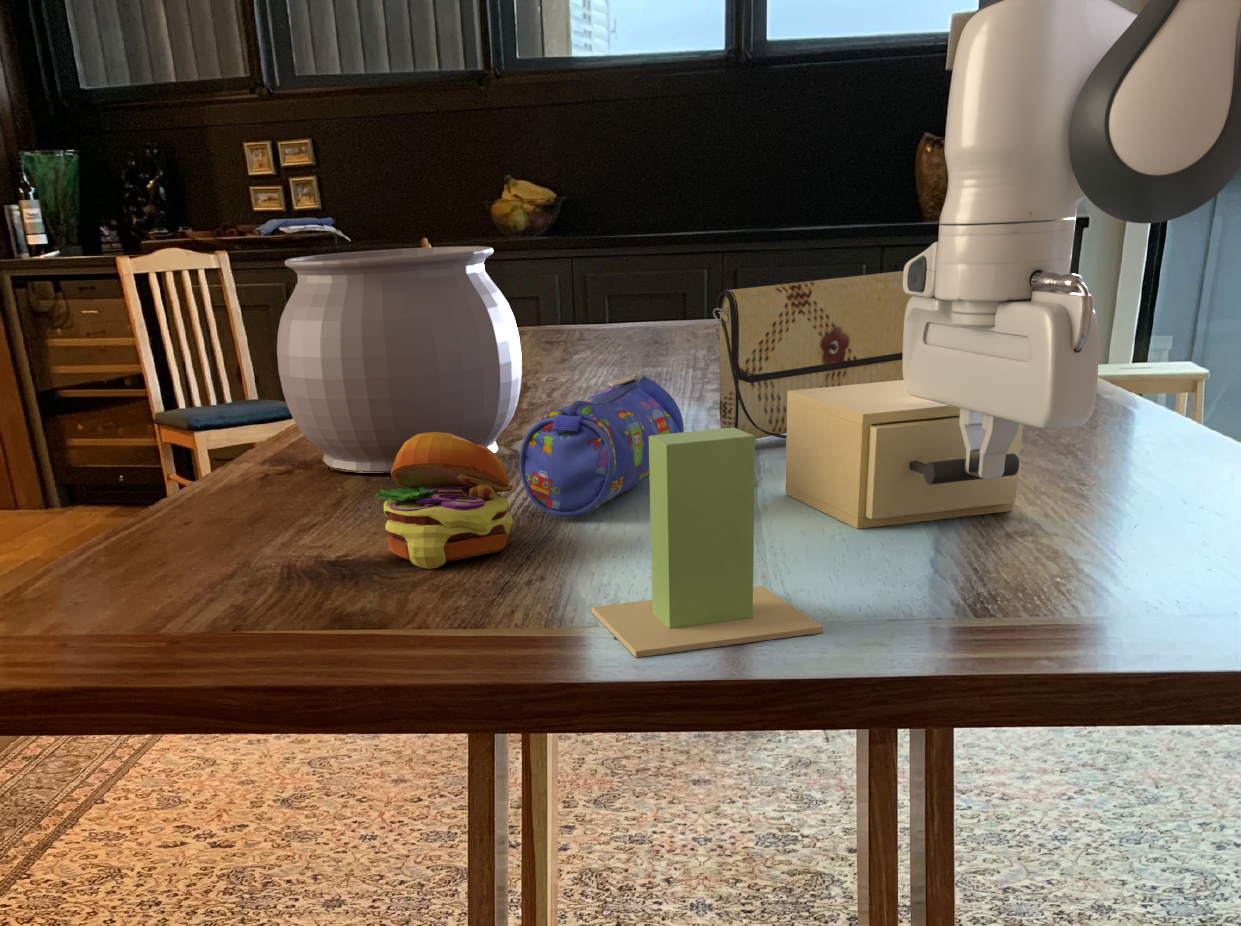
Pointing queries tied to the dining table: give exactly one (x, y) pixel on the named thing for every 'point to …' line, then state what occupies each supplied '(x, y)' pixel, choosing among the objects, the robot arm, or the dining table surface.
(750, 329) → the woven shoulder bag
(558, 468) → the pencil case
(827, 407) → the cabinet
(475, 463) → the cheeseburger
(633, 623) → the tan flat wooden board
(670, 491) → the sage green upright pillar
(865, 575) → the dining table surface
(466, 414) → the grey round vase
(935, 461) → the drawer
